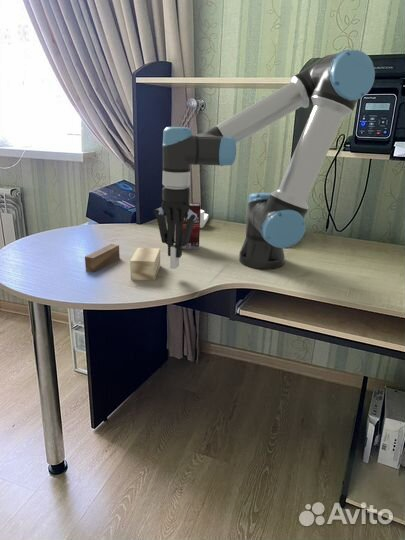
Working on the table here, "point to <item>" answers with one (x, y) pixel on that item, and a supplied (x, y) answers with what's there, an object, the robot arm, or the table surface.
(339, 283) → the table surface
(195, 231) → the supplement box
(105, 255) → the walnut rail
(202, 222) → the white block
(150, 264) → the oak block
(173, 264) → the robot arm
